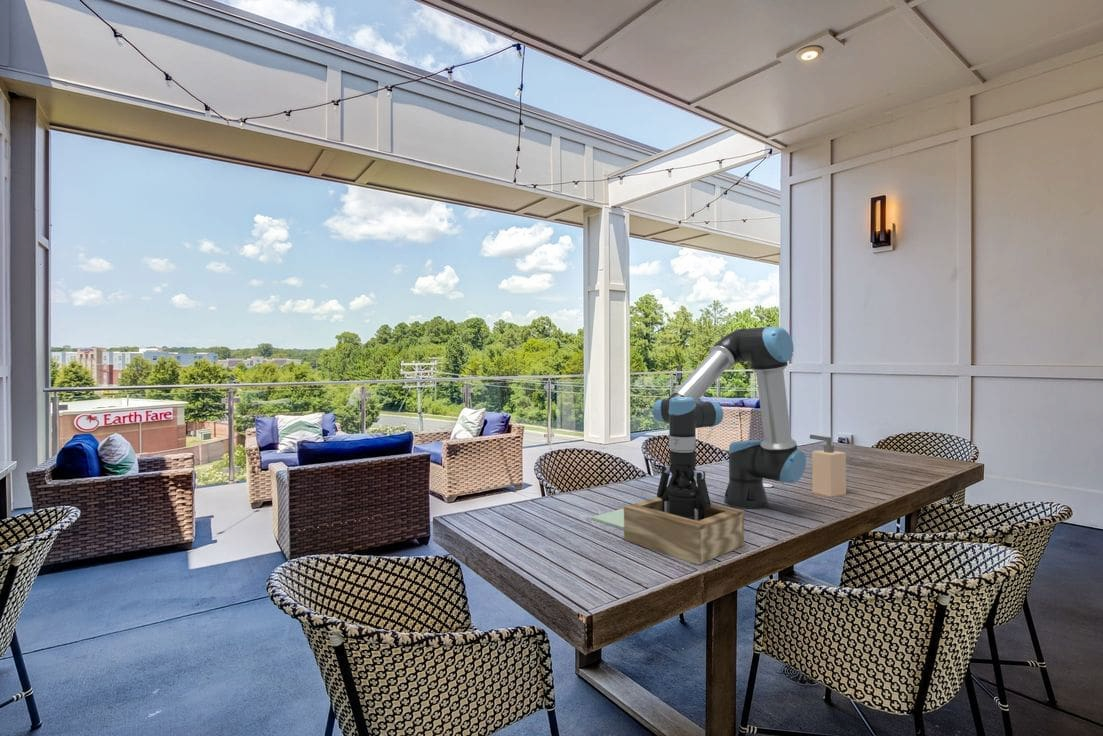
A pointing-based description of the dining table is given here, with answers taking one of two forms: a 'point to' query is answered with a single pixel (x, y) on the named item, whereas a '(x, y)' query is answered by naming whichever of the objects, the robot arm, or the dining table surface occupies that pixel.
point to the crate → (684, 530)
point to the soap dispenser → (828, 470)
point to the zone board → (612, 518)
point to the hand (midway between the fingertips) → (683, 526)
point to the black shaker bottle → (682, 499)
